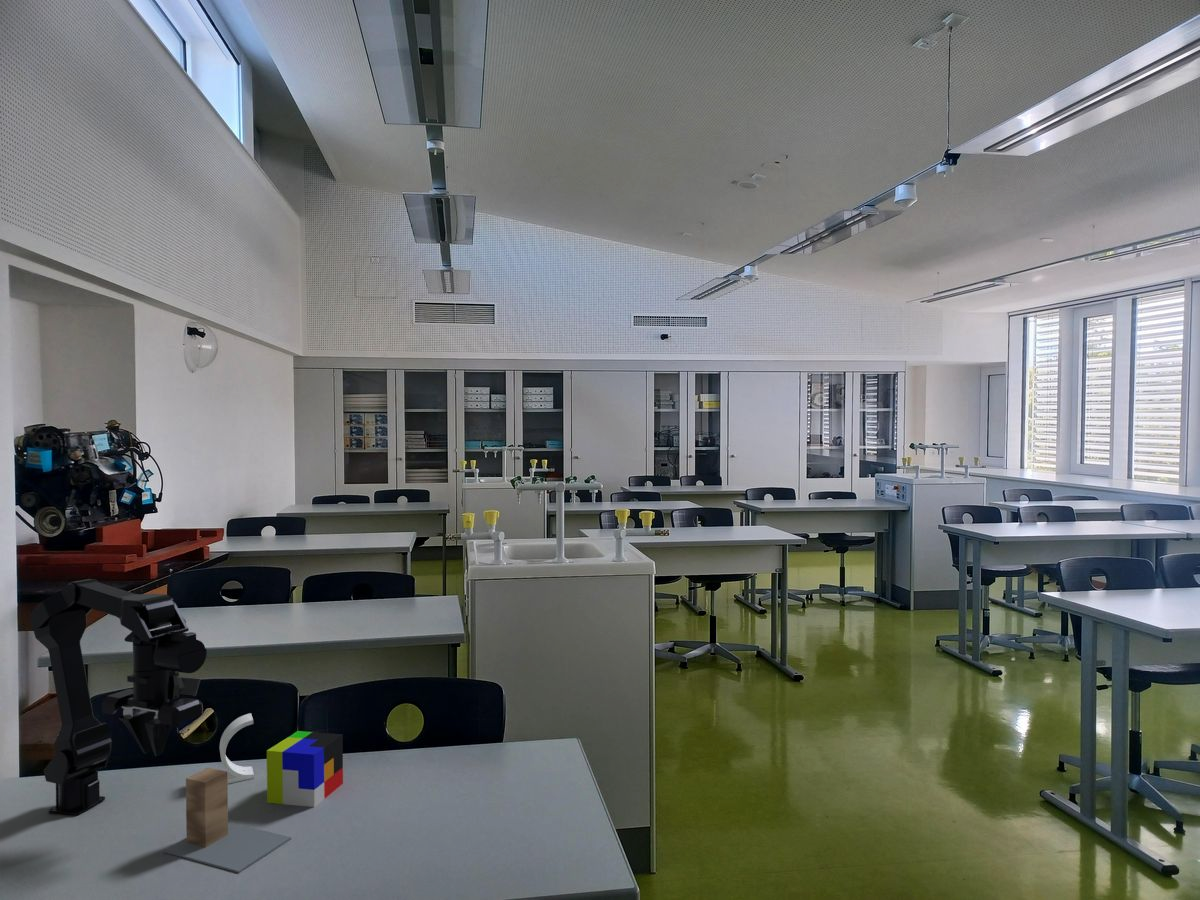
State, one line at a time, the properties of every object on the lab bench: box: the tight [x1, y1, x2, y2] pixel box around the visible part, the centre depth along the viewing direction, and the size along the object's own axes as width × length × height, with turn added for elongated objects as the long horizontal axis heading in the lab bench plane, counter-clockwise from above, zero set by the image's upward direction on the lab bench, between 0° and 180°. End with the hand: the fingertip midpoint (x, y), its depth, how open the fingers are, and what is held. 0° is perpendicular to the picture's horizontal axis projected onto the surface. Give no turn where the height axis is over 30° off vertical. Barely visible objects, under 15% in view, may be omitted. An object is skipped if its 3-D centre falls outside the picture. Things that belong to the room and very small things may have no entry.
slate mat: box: [163, 821, 292, 874], centre depth 127 cm, size 17×11×1 cm, turn 68°
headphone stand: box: [219, 712, 255, 785], centre depth 153 cm, size 5×6×12 cm
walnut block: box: [185, 767, 229, 847], centre depth 129 cm, size 4×4×11 cm
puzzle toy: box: [266, 730, 344, 808], centre depth 146 cm, size 10×10×10 cm
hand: (152, 753), depth 134 cm, fingers open, 3 cm apart
